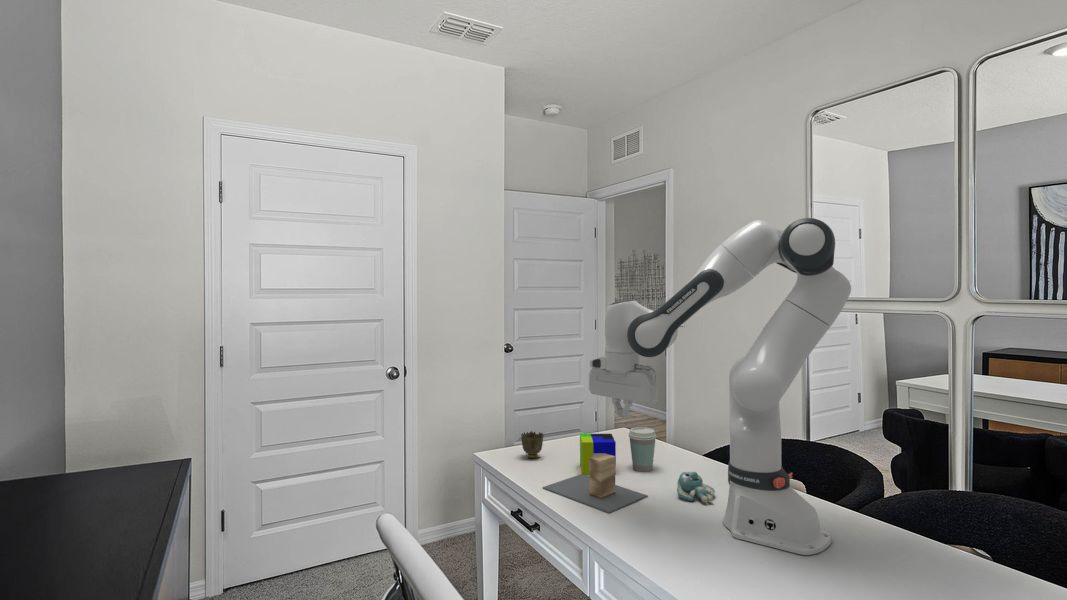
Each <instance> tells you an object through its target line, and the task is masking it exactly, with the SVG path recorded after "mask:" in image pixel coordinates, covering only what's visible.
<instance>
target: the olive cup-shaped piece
mask: <svg viewBox="0 0 1067 600" xmlns="http://www.w3.org/2000/svg"><path fill="white" fill-rule="evenodd" d="M520 437H521V444H522V445H521V446H522V449H523V452H525V454H527V455H526V457H527V459H529V460H535V459H537V458H538V457H539V454H540V452H541V451H542V449H543V444H544V443H543V442H544V441H543V440H544V433H543V432H540V431H539V432H538V433H536V431H532V430H531V431H530V432H529V431H526V432H523V433H520Z"/></svg>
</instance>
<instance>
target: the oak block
mask: <svg viewBox="0 0 1067 600" xmlns="http://www.w3.org/2000/svg"><path fill="white" fill-rule="evenodd" d="M588 476H589V495H591V496H594V497H597V498H599V499H602V498H605V497H607V496H610V495H612V494H615V485H616V475H615V456H612V455H608V454H605V453H603V454H600V455H596V456H593V457H590V458H589V475H588Z"/></svg>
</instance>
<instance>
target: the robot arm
mask: <svg viewBox="0 0 1067 600" xmlns="http://www.w3.org/2000/svg"><path fill="white" fill-rule="evenodd" d="M835 251H836V238H835V234H834V232H833V230H832V228H831V227H830V226H829V225H828V224H827V223H826V222H824V221H822V220H821V219H817V218H812V217H806V218H800V219H797V220H795V221H792V223H790V224H788V225H787V227H786V228H785V229H784V230H782V229H778V228H777V227H776V226H775V225H773V224H772V223H770V222H768V221H767V220H763V219H755V220H753V221H751V222H749V223H747V224H746V225H744V226H743V227H740V229H738V230H737V231H735V232H733V233H732V234H731V235H730V236H728V237H727V238H726V239H725V240H723V242H721V244H719V245H718V246H717V247H716V248H715V249H714V250H713V251H712V252H711V253H710V254H709V255H708V257H706V259H705V260H704V262H703V263H702V264H701V265H700V267H699V268H698V270H697V271H696V272H695V273H694V275H692V278H691V279H690V280H689V281H688V282H687V283H686V285H684V286H683V287H682V288H681V289H679V290H678V291H677V292H676V293H675V294H674V295H673V296H672V297H670V299H668V300H667V301H666V302H665V303H663V304H662V305H661V306H660V307H659V308H657V309H656V310H652V309H650V308H648V307H646V306H643V305H642V304H640V303H639V302H638V301H636V300H635V299H626V300H620V301H615V302H611V304H609V305H608V306H607V308H606V311H605V320H604V336H605V341H606V342H605V343H606V344H605V349H604V355H602V356H599V357H595V358H592V359H590V360H589V367H590V370H589V373H588V390H589V393H590V394H591V395H595V396H596V395H597V396H601V397H605V398H606V397H607V398H611V402H612V405H613V406H614V409H615V416H618V417H623V418H628V417H629V415H630V409H631V408H632V405H633V402H636V403H640V404H647V405H651V404H654V403H656V402H657V401H658V400H659V391H658V384H657V371H656V370H655V369H654V368H652V366H651V365H643V364H640V357H641V356H642V357H645V358H654V357H657V356H659V355H662V354H663V353H664V352H665V350H667V349H668V348H669V347H671V346H672V345H673V344H674V343H675V341H676V339H677V336H678V329H679V328H680V327H681V326H682V325H684V323H686V322H687V321H688V320H690V319H691V318H692V317H693V316H694V315H695V314H696V313H697V312H699V311H700V310H701V309H702V308H704V307H705V306H706V305H708V304H710V303H711V302H713V301H717V300H718V299H721V298H723V297H724V298H725V297H727V296H729V295H730V294H732V293H735V292H736V291H737V290H739V289H741V288H742V287H744V286H745V285H747V284H748V283H749V282H750V281H752V280H753V279H754V278H755V277H756V276H758V274H760V273H761V272H762V271H763V270H765V269H767V267H769V266H770V265H773V264H777V265H779V266H781V267H783V268H785V269H787V270H789V271H791V272H792V273H794V274H796V275H797V278H796V281H795V283H794V286H793V287H792V289H791V290H790V292H789V293H788V294H787V295H786V297H785V298H784V300H783V301H782V302H781V304H780V305H779V306H778V308H777V309H776V311H774V313H773V314H772V316H771V317H770V319H769V320H768V321H767V322H766V323H765V325H764V326H763V328H762V329H761V332H760V333H759V334H758V336H757V338H756V339H755V341H754V342H753V344H752V346H751V347H750V349H749V350H748V352H747V353H746V354H745V356H743V357H741V358H739V359H738V360H736V361H735V362H734V364H733V365H732V367H731V368H730V370H729V376H728V378H729V379H728V381H729V383H728V384H729V386H728V387H729V392H728V393H729V461H728V465H727V467H728V469H727V481H728V482H727V483H728V485H729V488H728V497H727V505H726V508H725V513H724V515H723V520H722V524H723V525H724V526H725V528H726V529H728V530H729V531H730V534H731V536H732V537H733V538H735V539H738V540H742V541H747V542H749V543H750V542H751V543H753V544H758V545H762V546H765V547H769V548H772V549H778V550H781V551H784V552H788V553H792V554H798V555H801V556H812V555H816V554H819V553H821V552H823V551H825V550H826V549H827V548H828V547H829V546H830V545H831V543H832V535H831V533H830V532H829V530H826V529H823V528H821V526H820V520H819V516H818V512H817V510H816V508H815V507H814V506H813V505H812V504H810V503H809V501H807V500H806V499H805V498H804V497H802V496H801V494H799V493H798V492H797V491H796V489H794V488H793V487H792V486H791V483H790V482H791V479H793V474H794V473H793V472H790V473H788V472H786V471H785V469H784V468H783V466H782V428H781V414H780V402H781V400H782V398H783V396H784V395H785V394H786V392H787V391H788V389H789V388H790V386H791V385H792V383H793V381H795V378H796V376H798V374H799V372H800V371H801V369H802V367H803V365H804V364H805V362H806V360H807V359H808V357H809V356H810V354H811V353H812V352H813V350H814V349H815V347H816V346H817V345H818V344H819V342H821V340H822V339H823V337H824V336H825V335H826V333H827V332H828V331H829V330H830V327H832V325H833V324H834V323H835V321H836V320H837V319H838V317H839V315H840V314H841V313H842V310H843V309H844V307H845V306H846V303H847V301H848V299H849V297H850V296H851V293H852V286H851V283H850V280H849V279H848V278H847V277H846V276H845V274H843V273H842V272H840V271H838V269H835V268H834V263H835V262H834V261H835ZM621 402H622V403H623V405H624V406H623V407H622V404H621Z"/></svg>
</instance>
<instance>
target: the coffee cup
mask: <svg viewBox="0 0 1067 600" xmlns="http://www.w3.org/2000/svg"><path fill="white" fill-rule="evenodd" d="M628 438H629V443H630V444H629V445H630V453H631V461H632V469H633V470H635V471H637V472H641V473H648V472H651V471H653V467H654V456H655V449H656V446H655V445H656V439H657V434H656V431H655V429H653V428H650V427H645V426H644V427H643V426H641V427H640V426H639V427H633V428H630V430H629V433H628Z"/></svg>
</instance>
